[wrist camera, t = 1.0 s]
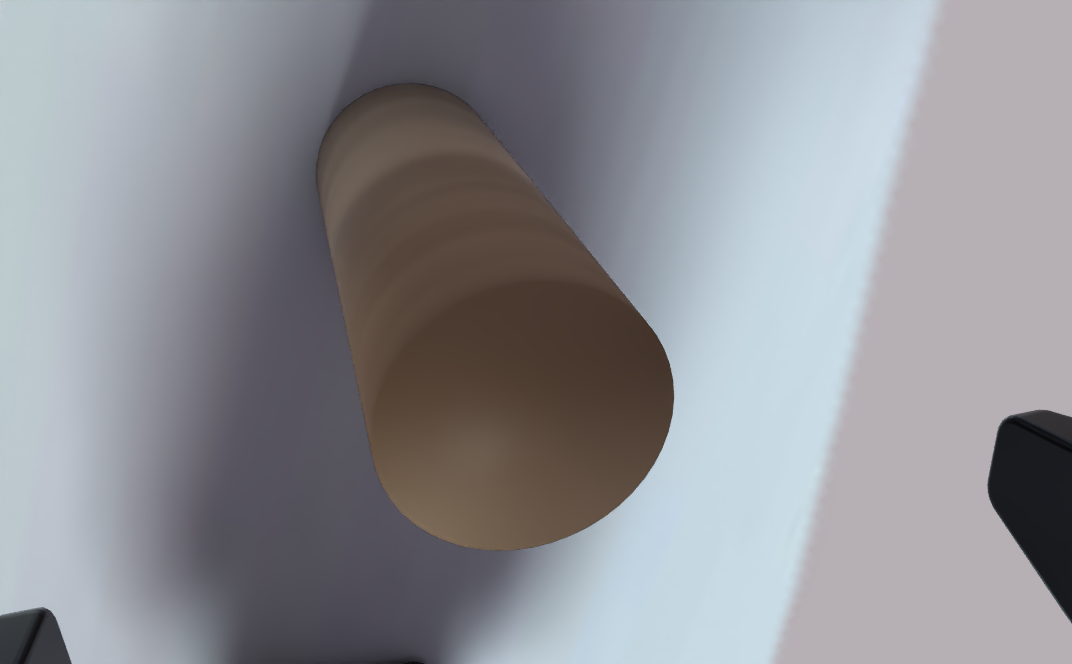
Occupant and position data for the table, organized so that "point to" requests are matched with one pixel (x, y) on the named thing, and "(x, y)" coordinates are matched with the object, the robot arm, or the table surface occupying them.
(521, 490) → the peg
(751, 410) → the table surface
